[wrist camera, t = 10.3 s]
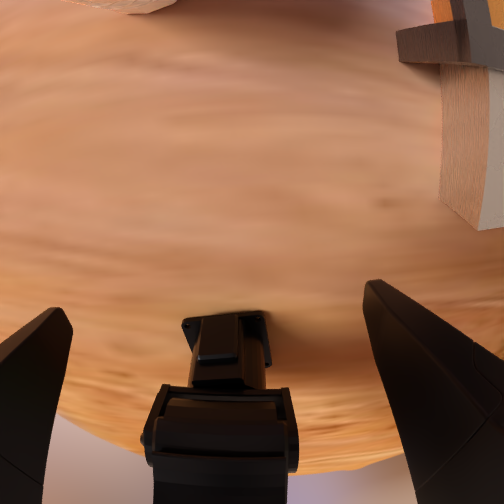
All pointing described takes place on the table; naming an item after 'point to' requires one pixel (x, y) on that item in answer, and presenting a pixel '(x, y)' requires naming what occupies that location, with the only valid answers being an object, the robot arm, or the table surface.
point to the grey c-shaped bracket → (456, 39)
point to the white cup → (126, 5)
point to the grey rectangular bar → (472, 133)
